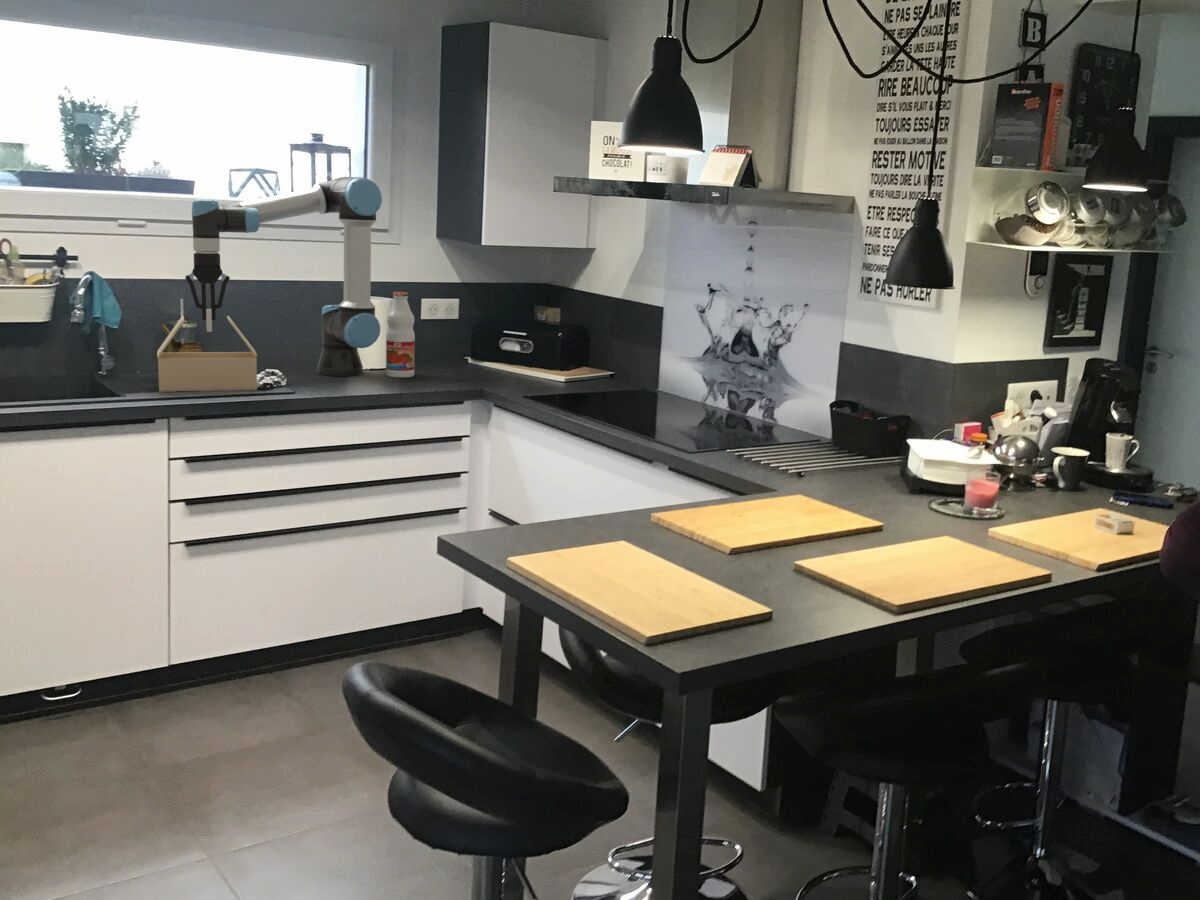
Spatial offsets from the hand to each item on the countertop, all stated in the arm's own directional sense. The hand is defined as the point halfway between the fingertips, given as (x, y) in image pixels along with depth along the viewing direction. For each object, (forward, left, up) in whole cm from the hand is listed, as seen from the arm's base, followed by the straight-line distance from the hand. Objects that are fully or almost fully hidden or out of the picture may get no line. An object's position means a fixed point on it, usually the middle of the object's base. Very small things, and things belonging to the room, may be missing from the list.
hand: (209, 331), depth 357 cm
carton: (+1, 0, -17) cm, 17 cm away
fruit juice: (-61, -18, -18) cm, 66 cm away
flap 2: (-9, 0, -2) cm, 9 cm away
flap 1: (+11, 0, -2) cm, 11 cm away
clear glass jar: (+8, -19, -18) cm, 27 cm away
